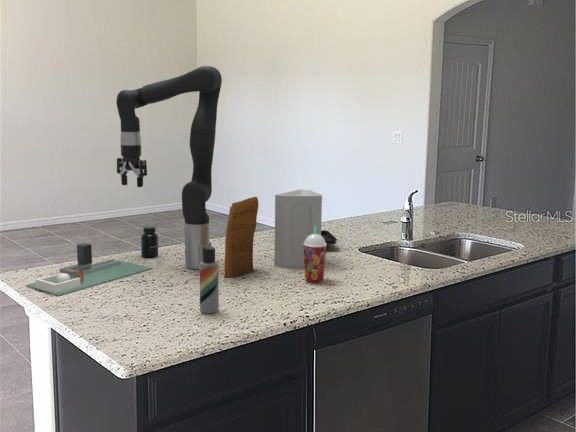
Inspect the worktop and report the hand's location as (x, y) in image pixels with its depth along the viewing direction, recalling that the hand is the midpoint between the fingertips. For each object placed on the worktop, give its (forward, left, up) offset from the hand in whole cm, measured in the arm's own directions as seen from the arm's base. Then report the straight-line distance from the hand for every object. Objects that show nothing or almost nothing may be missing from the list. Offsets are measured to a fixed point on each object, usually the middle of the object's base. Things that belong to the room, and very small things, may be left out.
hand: (132, 186), depth 239 cm
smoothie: (-70, -21, -30) cm, 79 cm away
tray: (-40, -66, -30) cm, 83 cm away
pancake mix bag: (-43, -13, -30) cm, 54 cm away
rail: (+2, +21, -30) cm, 37 cm away
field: (-4, +24, -30) cm, 39 cm away
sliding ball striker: (-2, +26, -29) cm, 39 cm away
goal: (-6, +39, -30) cm, 50 cm away
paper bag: (-54, -38, -30) cm, 73 cm away
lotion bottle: (-61, +25, -30) cm, 72 cm away
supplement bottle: (+2, -10, -30) cm, 32 cm away
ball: (-6, +37, -28) cm, 46 cm away
